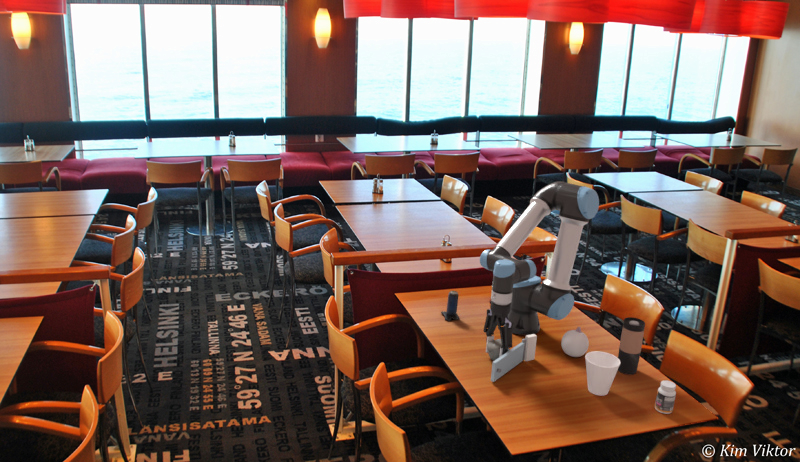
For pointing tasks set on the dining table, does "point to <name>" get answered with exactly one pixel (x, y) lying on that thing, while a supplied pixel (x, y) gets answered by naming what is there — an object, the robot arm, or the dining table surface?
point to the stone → (494, 349)
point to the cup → (601, 371)
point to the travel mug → (630, 345)
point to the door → (508, 361)
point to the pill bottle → (665, 397)
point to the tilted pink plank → (530, 347)
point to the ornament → (575, 343)
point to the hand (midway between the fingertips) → (495, 356)
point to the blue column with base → (451, 306)
